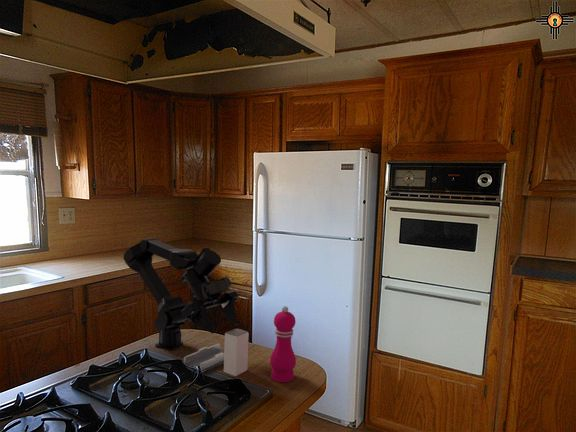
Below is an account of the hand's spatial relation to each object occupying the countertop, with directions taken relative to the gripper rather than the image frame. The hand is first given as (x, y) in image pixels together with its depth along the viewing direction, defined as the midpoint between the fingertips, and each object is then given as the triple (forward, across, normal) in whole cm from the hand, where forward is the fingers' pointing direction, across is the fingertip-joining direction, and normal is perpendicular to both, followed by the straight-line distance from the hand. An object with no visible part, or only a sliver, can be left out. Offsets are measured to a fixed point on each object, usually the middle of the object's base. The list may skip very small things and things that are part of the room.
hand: (225, 328), depth 114 cm
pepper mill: (+20, +5, -4) cm, 21 cm away
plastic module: (+11, 0, +5) cm, 12 cm away
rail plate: (+4, 0, +12) cm, 13 cm away
